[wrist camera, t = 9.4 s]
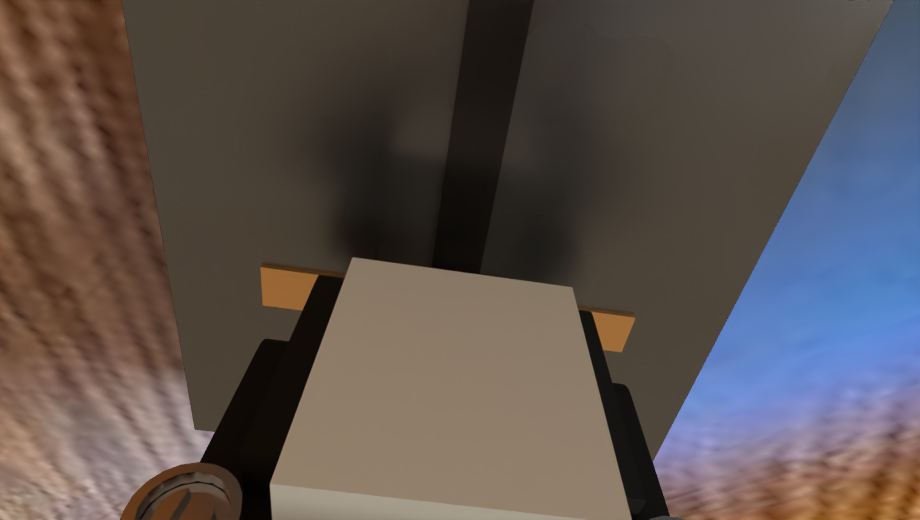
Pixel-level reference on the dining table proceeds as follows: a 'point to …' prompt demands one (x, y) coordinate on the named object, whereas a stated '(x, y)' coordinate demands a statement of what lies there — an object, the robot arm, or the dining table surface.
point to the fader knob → (449, 406)
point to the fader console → (483, 158)
